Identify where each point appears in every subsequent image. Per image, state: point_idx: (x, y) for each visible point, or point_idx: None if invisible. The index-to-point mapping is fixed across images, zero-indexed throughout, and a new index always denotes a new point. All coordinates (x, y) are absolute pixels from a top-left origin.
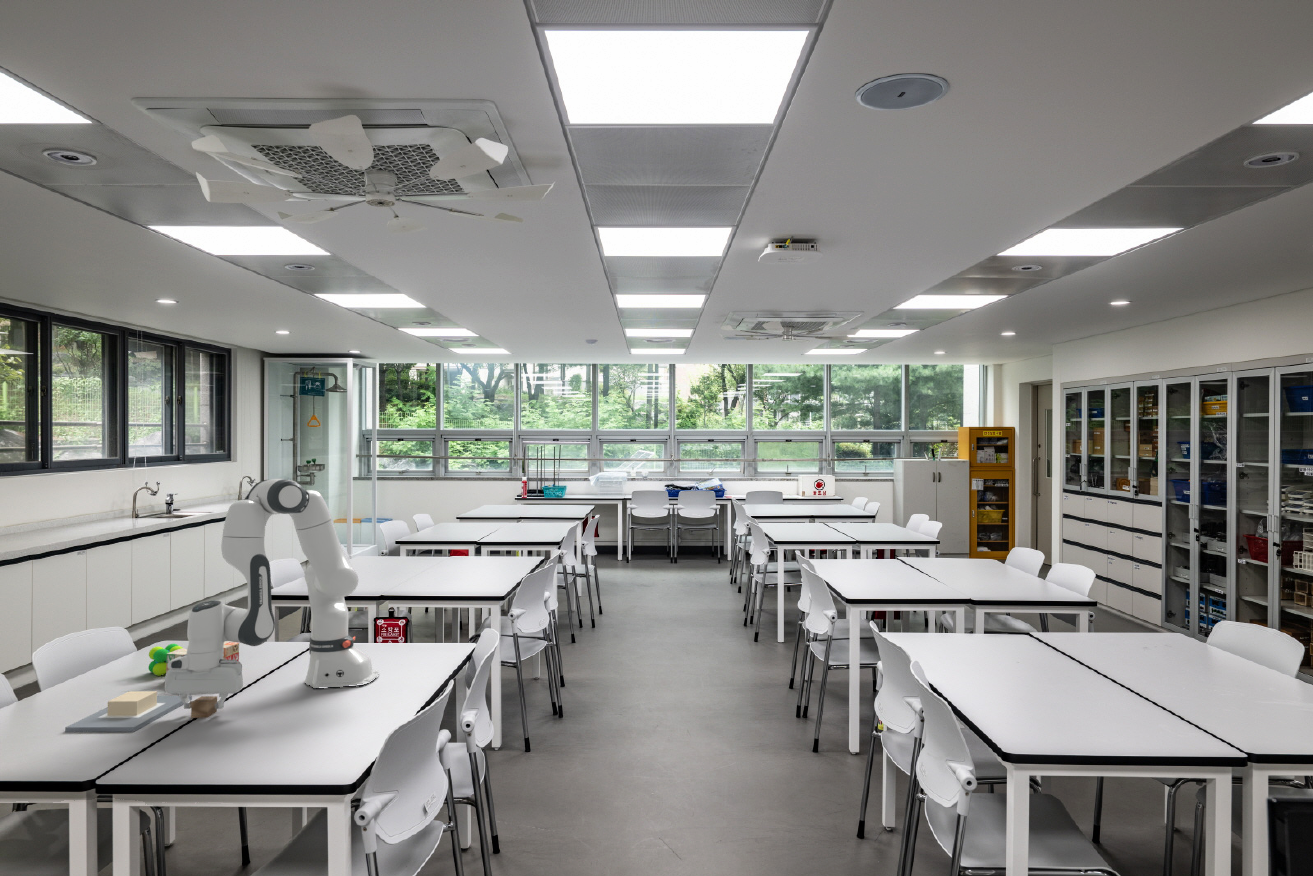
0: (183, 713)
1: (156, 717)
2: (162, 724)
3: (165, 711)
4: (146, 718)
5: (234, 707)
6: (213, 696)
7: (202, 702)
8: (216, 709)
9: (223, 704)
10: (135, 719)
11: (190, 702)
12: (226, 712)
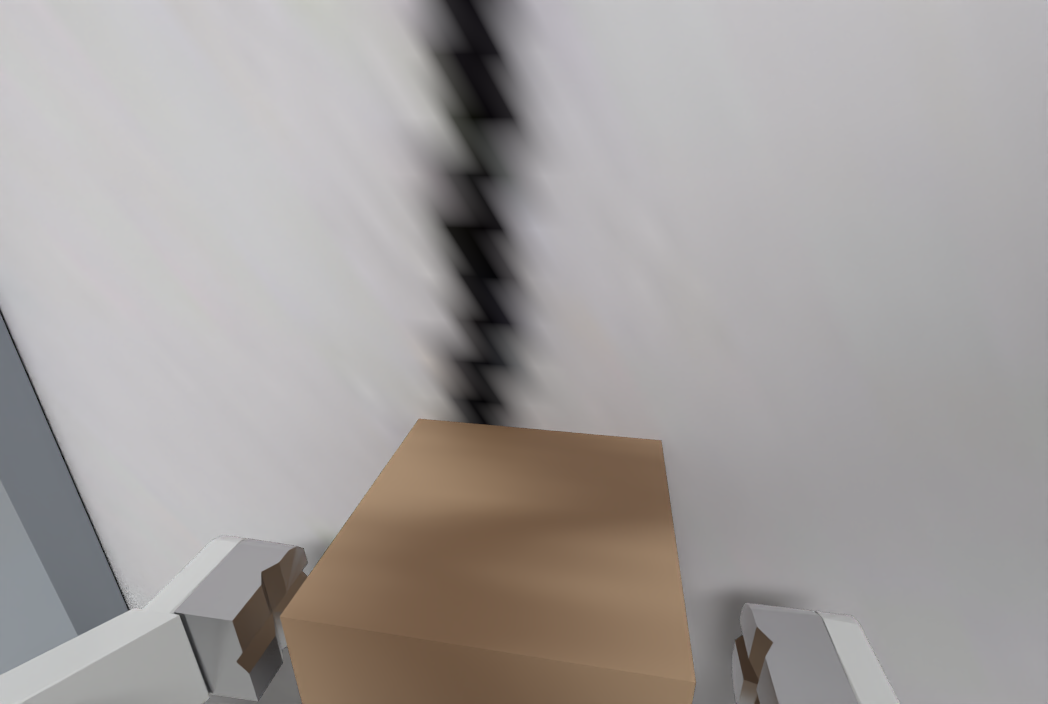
0: (236, 454)
1: (99, 602)
2: (285, 696)
3: (29, 489)
4: None
5: (904, 257)
6: (587, 673)
7: None
8: (661, 476)
9: (873, 665)
10: None
11: (243, 654)
12: (838, 482)
